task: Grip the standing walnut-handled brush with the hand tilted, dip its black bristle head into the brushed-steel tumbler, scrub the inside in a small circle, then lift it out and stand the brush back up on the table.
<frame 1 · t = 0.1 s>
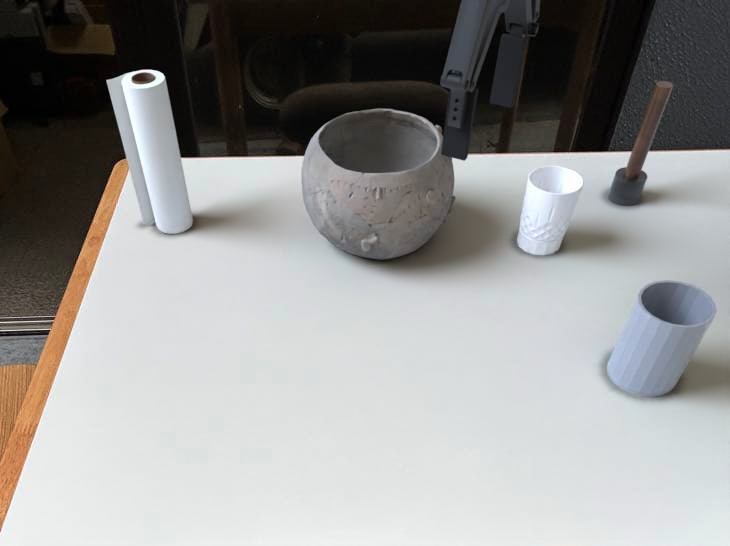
hand: (478, 129, 72), 25 cm above the table, tool pointing down, fingers open, 13 cm apart
tumbler: (640, 374, 86), on the table
paper towel roll: (172, 224, 108), on the table
bowl: (374, 235, 105), on the table
white cup: (538, 244, 103), on the table
brush: (622, 199, 110), on the table
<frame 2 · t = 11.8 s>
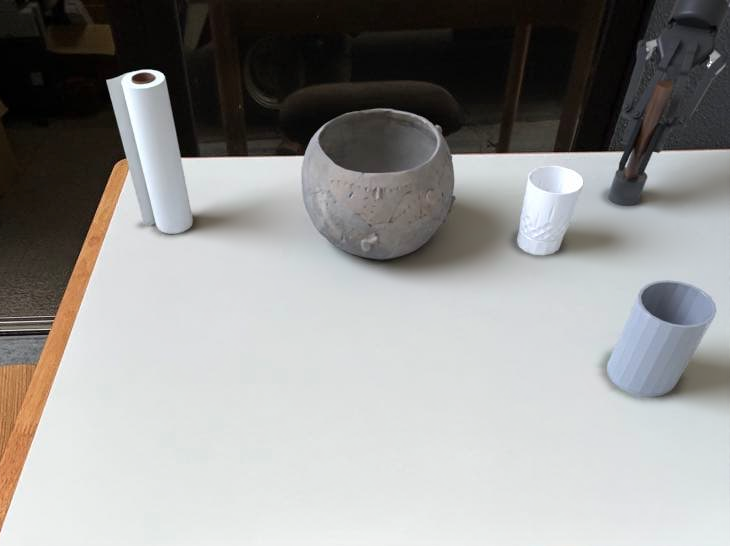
hand: (631, 169, 102), 7 cm above the table, tool tilted 45°, fingers closed on brush, 2 cm apart
brush: (622, 199, 110), on the table, touching gripper
everything else where it was.
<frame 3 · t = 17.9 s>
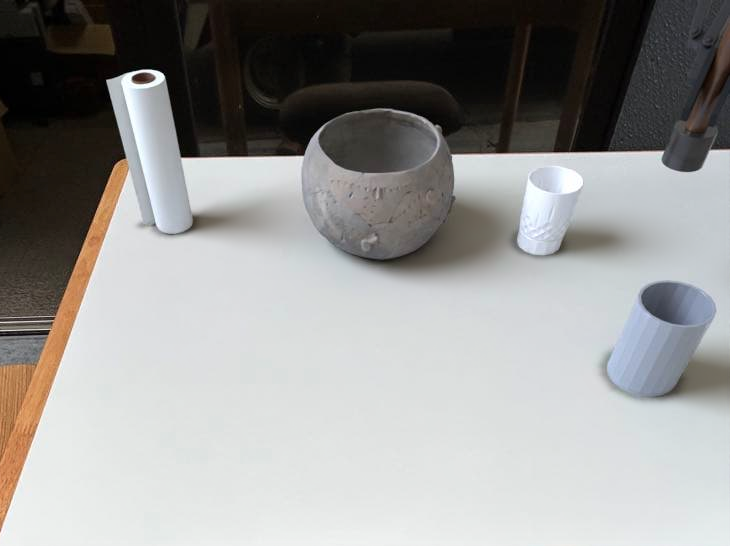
hand: (698, 117, 75), 24 cm above the table, tool tilted 45°, fingers closed on brush, 2 cm apart
brush: (682, 162, 82), point 17 cm above the table, touching gripper
everything else where it was.
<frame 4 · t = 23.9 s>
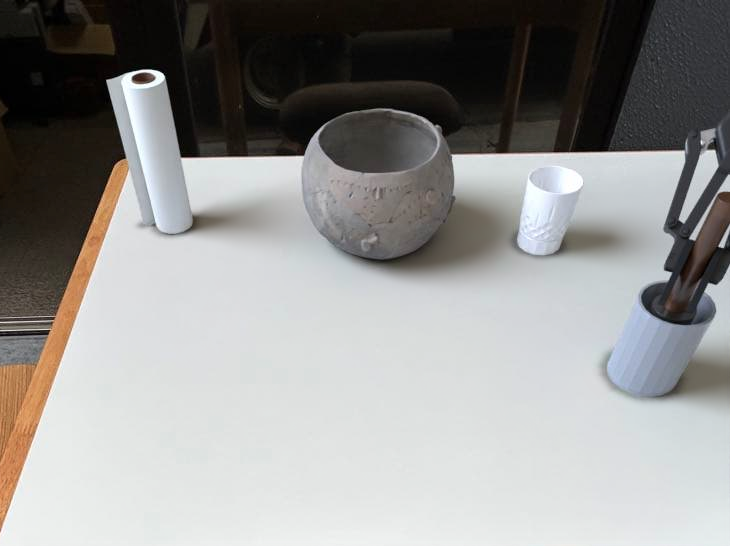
hand: (676, 306, 73), 14 cm above the table, tool tilted 45°, fingers closed on brush, 2 cm apart
brush: (660, 334, 80), point 7 cm above the table, touching gripper
everything else where it was.
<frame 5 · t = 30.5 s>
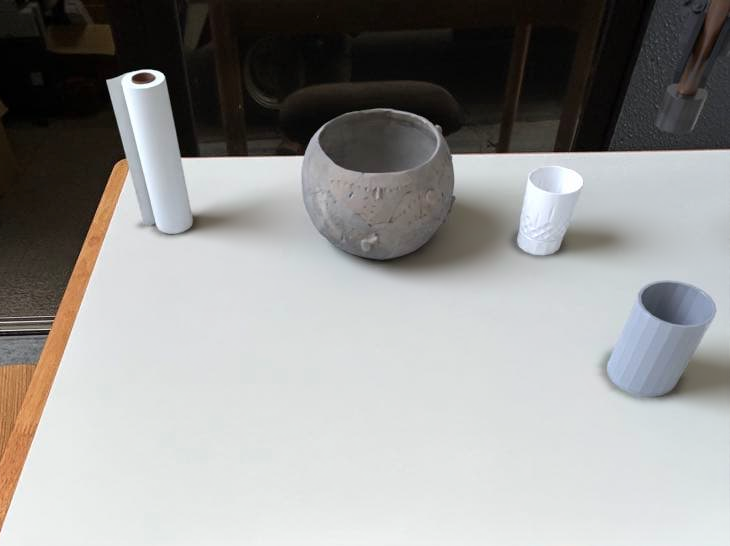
hand: (689, 79, 80), 24 cm above the table, tool tilted 45°, fingers closed on brush, 2 cm apart
brush: (674, 124, 87), point 18 cm above the table, touching gripper
everything else where it was.
when the fingers open (7 cm above the table, at t = 36.1 s): brush stays where it is, on the table.
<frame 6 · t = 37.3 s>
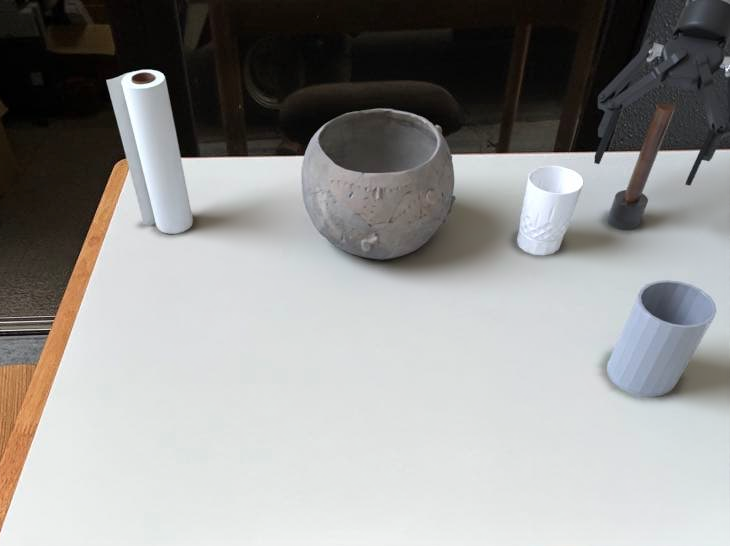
hand: (641, 171, 97), 9 cm above the table, tool tilted 45°, fingers open, 13 cm apart
brush: (622, 222, 106), on the table
everything else where it was.
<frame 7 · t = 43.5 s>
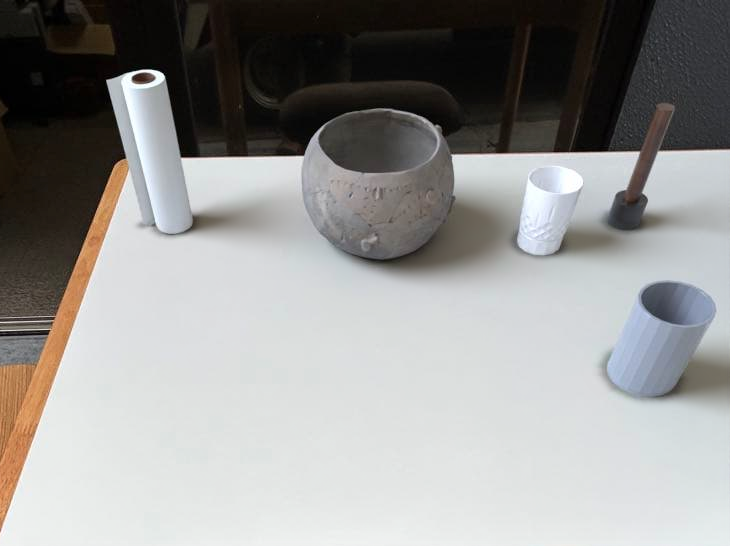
nothing on the table moved.
at the end: tumbler moved 0.0 cm from its start; brush tilted 0°; brush inside the target area (0.1 cm from its centre), on the table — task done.
